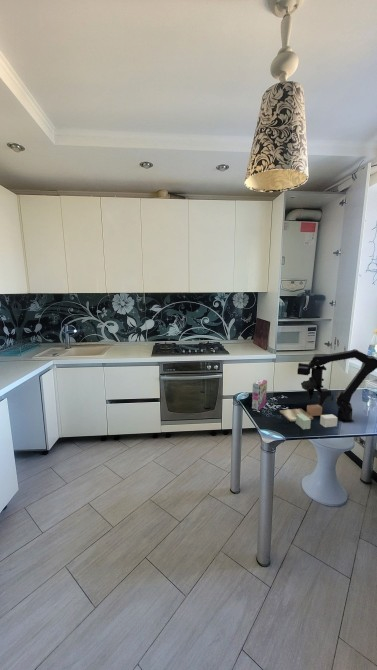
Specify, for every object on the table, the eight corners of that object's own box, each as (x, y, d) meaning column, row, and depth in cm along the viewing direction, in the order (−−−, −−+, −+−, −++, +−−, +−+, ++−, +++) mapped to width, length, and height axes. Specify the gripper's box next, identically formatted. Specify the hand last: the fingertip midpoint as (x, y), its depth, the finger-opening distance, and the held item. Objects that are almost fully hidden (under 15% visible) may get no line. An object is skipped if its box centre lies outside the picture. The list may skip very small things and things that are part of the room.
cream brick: (331, 422, 142) (332, 414, 141) (336, 426, 138) (337, 417, 137) (320, 423, 141) (320, 415, 140) (324, 427, 137) (325, 418, 136)
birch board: (301, 410, 157) (301, 408, 157) (313, 419, 145) (313, 417, 145) (279, 411, 155) (279, 410, 155) (290, 421, 143) (290, 419, 143)
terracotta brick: (317, 412, 154) (317, 404, 154) (321, 415, 150) (322, 407, 150) (306, 413, 153) (307, 405, 153) (310, 416, 149) (311, 408, 149)
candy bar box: (259, 411, 157) (260, 385, 154) (251, 408, 160) (252, 383, 157) (266, 404, 165) (267, 380, 163) (259, 403, 168) (260, 378, 166)
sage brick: (295, 423, 142) (296, 414, 141) (302, 422, 142) (302, 413, 142) (303, 429, 135) (303, 420, 134) (310, 428, 135) (310, 419, 135)
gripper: (294, 372, 156) (293, 397, 159) (314, 382, 138) (312, 410, 140) (311, 371, 158) (310, 395, 160) (332, 381, 140) (330, 408, 142)
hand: (315, 402), depth 151 cm, fingers open, 9 cm apart
